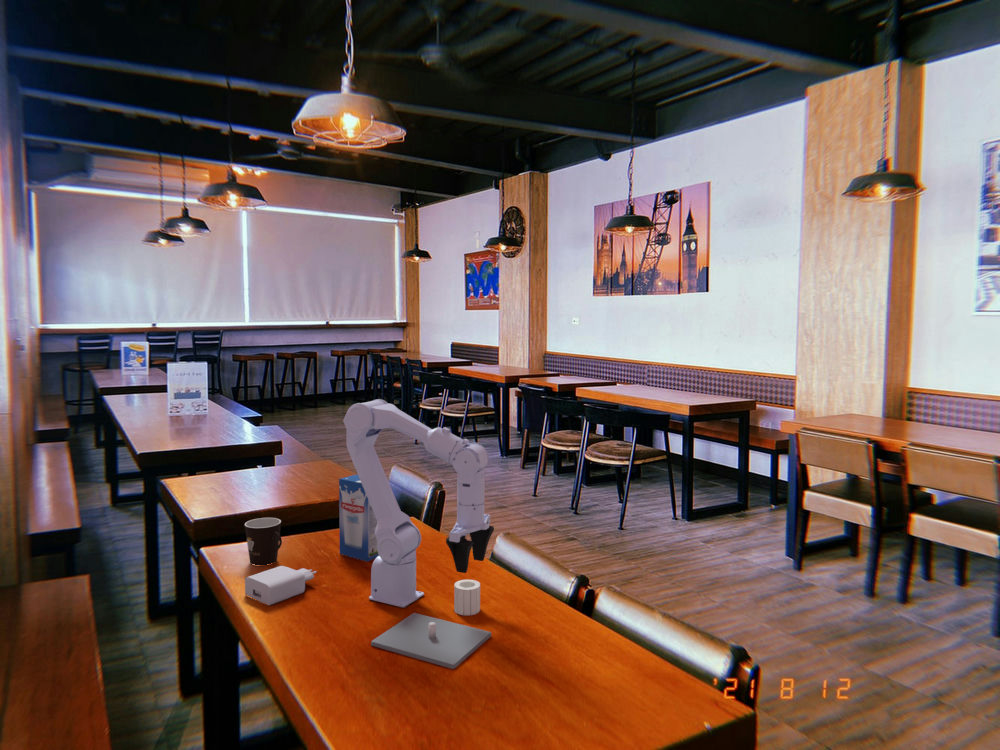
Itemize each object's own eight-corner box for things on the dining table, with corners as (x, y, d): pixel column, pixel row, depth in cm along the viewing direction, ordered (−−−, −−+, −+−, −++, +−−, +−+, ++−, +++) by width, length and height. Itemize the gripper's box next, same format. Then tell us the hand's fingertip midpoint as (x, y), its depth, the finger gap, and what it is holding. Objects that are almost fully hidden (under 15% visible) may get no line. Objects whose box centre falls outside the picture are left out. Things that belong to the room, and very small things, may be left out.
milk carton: (384, 554, 172) (384, 479, 170) (367, 561, 167) (367, 484, 165) (356, 547, 177) (356, 474, 176) (339, 554, 172) (338, 478, 170)
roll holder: (371, 645, 123) (371, 628, 123) (414, 616, 135) (414, 600, 135) (453, 669, 115) (453, 651, 115) (491, 636, 127) (491, 619, 127)
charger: (326, 585, 152) (269, 607, 140) (301, 576, 157) (244, 596, 145) (326, 565, 151) (269, 585, 139) (301, 557, 157) (244, 575, 145)
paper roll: (449, 612, 138) (449, 586, 137) (462, 602, 143) (462, 577, 142) (471, 617, 135) (472, 591, 135) (484, 607, 140) (484, 582, 140)
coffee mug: (244, 558, 168) (243, 520, 167) (279, 553, 172) (278, 516, 171) (247, 574, 157) (246, 533, 157) (285, 568, 161) (284, 528, 160)
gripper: (471, 513, 129) (471, 580, 130) (502, 496, 142) (502, 558, 143) (440, 509, 132) (440, 574, 133) (474, 492, 145) (473, 552, 146)
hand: (470, 565), depth 138 cm, fingers open, 7 cm apart
